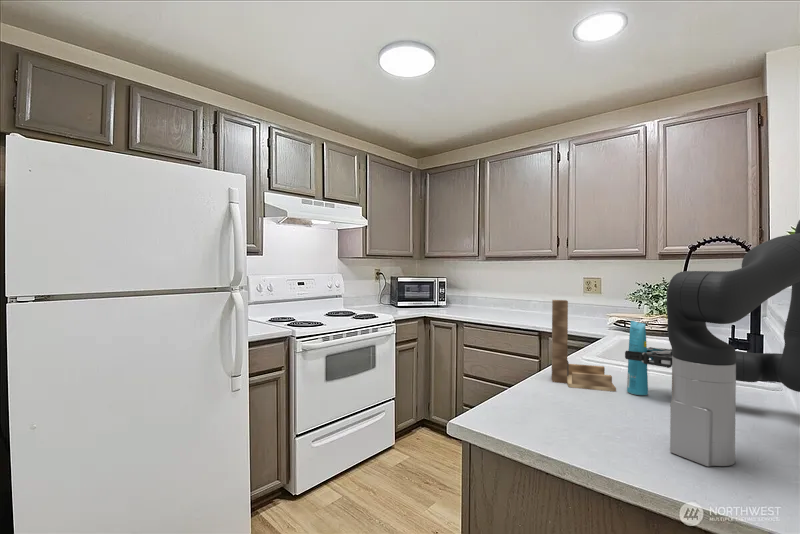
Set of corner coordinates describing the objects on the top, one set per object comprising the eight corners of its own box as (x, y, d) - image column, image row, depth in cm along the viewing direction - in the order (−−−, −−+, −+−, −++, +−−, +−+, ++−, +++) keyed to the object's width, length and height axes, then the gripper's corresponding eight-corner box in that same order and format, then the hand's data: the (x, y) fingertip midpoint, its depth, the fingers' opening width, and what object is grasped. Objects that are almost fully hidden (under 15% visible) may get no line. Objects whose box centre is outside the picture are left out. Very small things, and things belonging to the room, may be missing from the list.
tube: (655, 397, 104) (655, 323, 104) (637, 397, 104) (637, 323, 104) (637, 389, 112) (637, 320, 112) (620, 389, 111) (620, 320, 112)
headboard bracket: (607, 379, 121) (607, 300, 121) (615, 391, 109) (616, 303, 109) (550, 375, 125) (551, 298, 125) (553, 385, 114) (554, 301, 114)
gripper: (704, 342, 105) (630, 335, 115) (704, 351, 93) (622, 342, 104) (704, 371, 105) (630, 361, 115) (704, 383, 93) (622, 371, 104)
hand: (627, 352), depth 109 cm, fingers closed on tube, 5 cm apart
